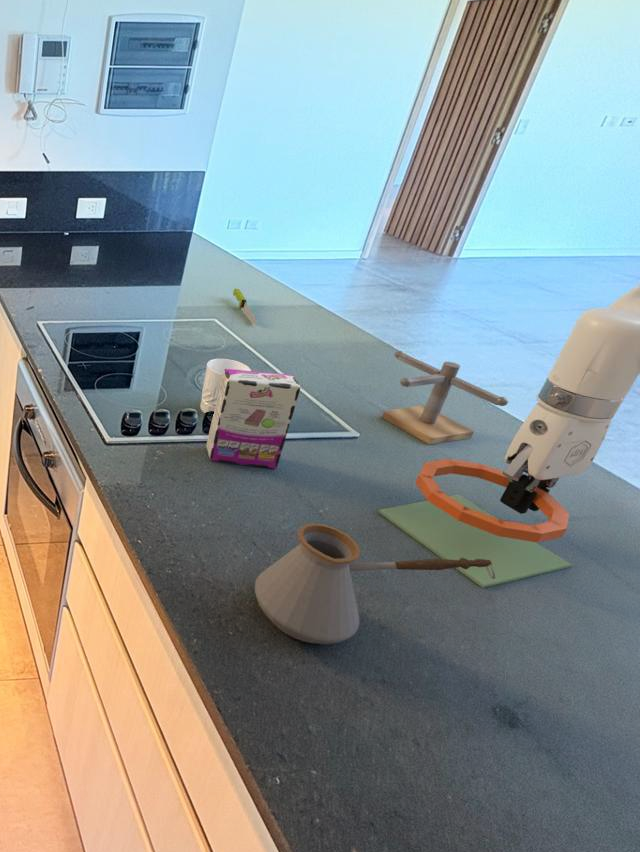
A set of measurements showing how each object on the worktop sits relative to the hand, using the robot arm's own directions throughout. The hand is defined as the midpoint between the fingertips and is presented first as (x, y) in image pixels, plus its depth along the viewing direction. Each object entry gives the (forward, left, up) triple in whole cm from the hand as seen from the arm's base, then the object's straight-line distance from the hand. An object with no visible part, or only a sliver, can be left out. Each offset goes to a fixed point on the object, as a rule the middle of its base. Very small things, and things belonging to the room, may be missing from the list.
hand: (518, 505), depth 91 cm
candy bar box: (+26, -26, -5) cm, 37 cm away
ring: (+7, 0, +3) cm, 8 cm away
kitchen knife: (-24, -86, -5) cm, 89 cm away
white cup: (+19, -41, -5) cm, 45 cm away
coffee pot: (+39, +9, -5) cm, 40 cm away
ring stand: (-13, -26, -5) cm, 29 cm away
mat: (+7, 0, -5) cm, 9 cm away
